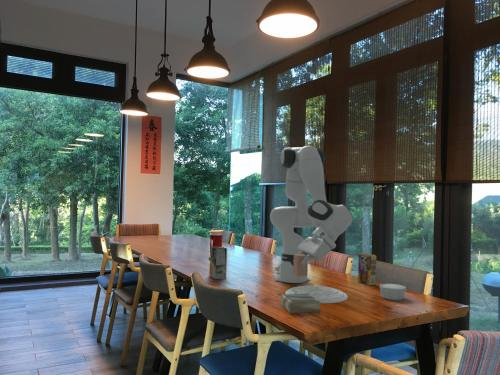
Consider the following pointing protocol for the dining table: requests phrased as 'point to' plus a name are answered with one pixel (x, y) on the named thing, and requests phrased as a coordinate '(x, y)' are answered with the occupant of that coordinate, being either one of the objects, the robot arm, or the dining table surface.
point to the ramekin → (392, 291)
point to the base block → (300, 303)
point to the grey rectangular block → (300, 265)
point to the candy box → (367, 269)
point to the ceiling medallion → (320, 293)
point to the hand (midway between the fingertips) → (299, 262)
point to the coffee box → (218, 262)
